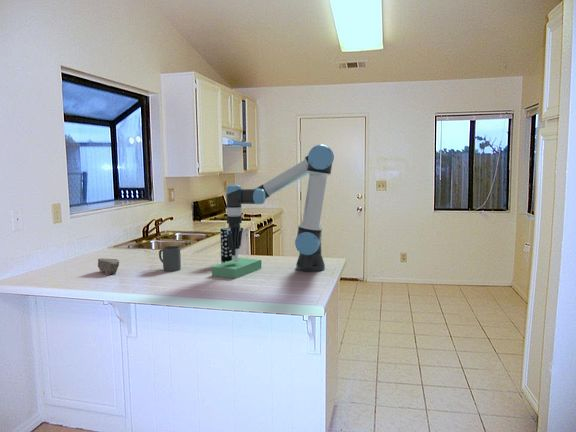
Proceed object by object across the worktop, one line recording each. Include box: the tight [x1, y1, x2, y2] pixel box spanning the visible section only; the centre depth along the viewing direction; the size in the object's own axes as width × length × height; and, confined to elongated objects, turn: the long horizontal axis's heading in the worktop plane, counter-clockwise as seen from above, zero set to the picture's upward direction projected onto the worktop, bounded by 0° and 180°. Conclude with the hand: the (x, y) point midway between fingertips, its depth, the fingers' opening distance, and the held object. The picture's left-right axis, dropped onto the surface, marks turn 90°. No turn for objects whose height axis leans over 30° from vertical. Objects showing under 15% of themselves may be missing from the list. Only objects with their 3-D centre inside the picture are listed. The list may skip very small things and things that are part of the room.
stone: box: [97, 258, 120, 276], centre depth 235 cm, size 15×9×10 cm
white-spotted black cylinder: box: [219, 227, 232, 264], centre depth 255 cm, size 8×8×20 cm
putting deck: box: [211, 257, 262, 279], centre depth 237 cm, size 14×25×5 cm, turn 153°
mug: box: [158, 245, 182, 272], centre depth 244 cm, size 14×9×12 cm
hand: (235, 261), depth 235 cm, fingers closed
